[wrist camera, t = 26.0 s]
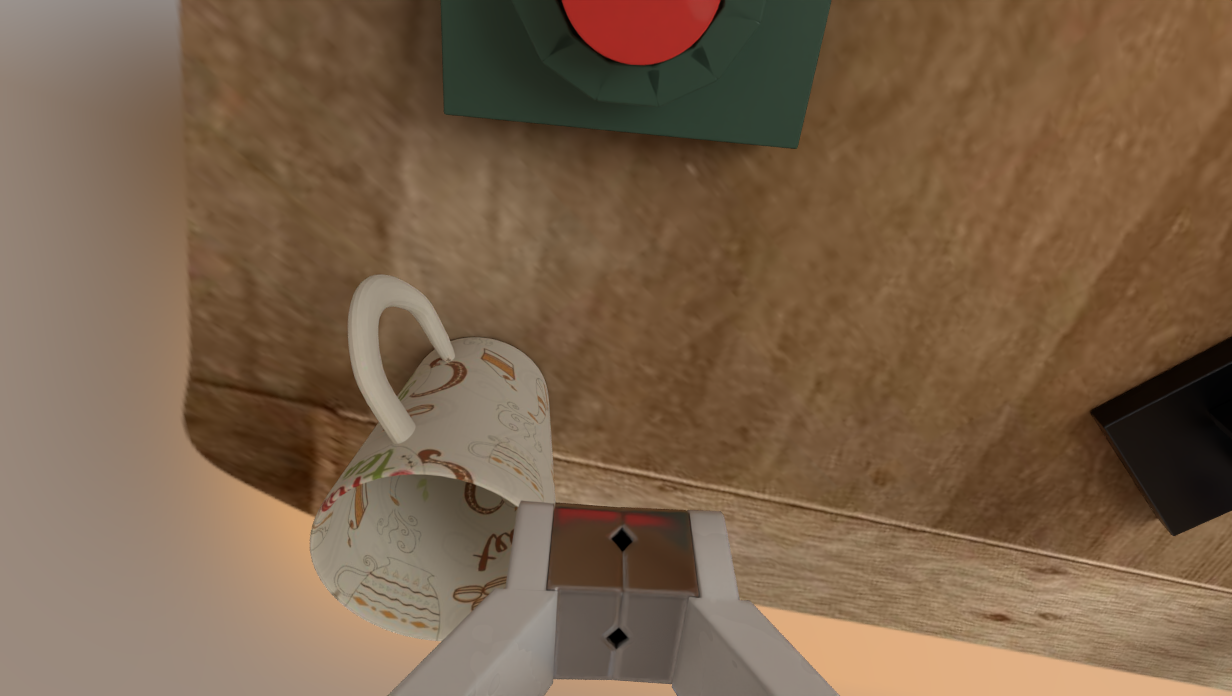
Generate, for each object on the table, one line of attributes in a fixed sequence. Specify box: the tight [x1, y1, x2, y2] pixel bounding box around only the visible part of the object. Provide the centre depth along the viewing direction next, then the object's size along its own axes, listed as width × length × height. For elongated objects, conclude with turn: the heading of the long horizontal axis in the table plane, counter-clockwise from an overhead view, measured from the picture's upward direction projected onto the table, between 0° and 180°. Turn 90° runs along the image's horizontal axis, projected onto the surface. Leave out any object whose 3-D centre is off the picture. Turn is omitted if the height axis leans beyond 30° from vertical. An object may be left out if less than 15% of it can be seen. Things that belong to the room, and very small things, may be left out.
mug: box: [310, 275, 556, 641], centre depth 28 cm, size 8×13×10 cm, turn 20°
